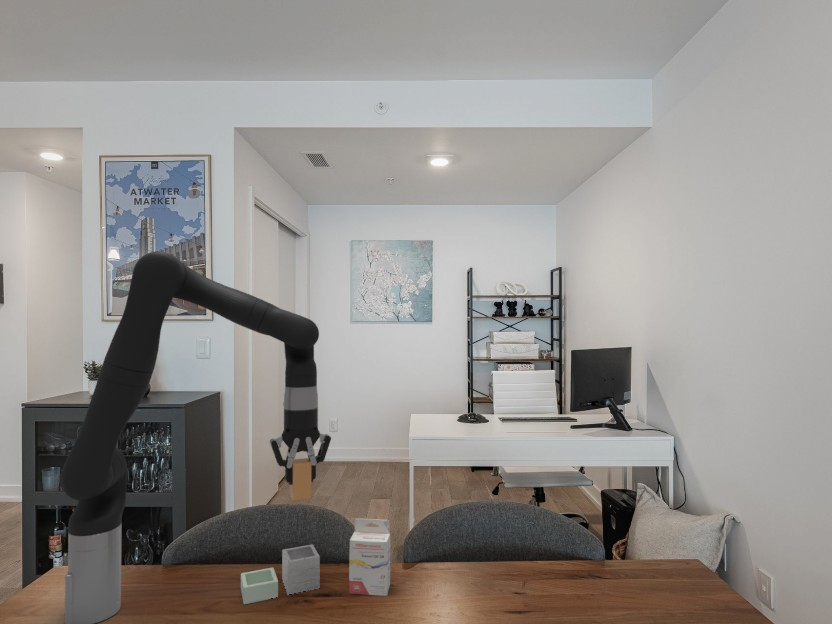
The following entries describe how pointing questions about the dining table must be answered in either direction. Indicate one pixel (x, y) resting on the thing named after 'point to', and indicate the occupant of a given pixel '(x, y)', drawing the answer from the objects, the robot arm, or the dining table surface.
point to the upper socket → (300, 569)
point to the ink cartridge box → (370, 558)
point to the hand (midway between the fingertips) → (300, 482)
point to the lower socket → (259, 585)
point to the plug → (301, 479)
